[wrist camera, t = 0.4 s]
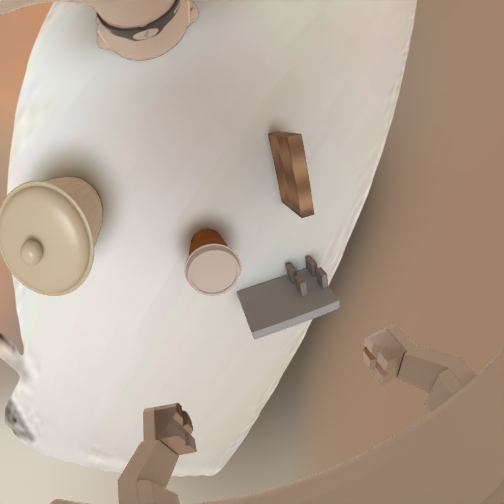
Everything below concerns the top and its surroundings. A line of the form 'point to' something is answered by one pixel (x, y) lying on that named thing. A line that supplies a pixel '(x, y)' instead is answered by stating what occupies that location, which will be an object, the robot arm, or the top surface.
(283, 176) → the walnut door
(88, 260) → the canister
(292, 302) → the cabinet side
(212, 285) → the disposable coffee cup
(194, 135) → the top surface
